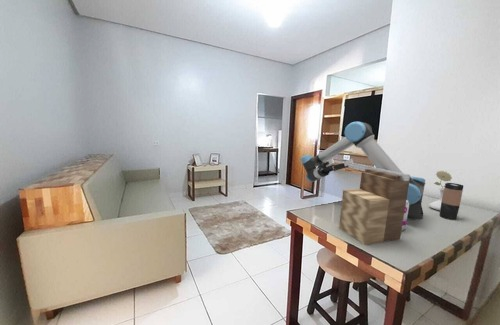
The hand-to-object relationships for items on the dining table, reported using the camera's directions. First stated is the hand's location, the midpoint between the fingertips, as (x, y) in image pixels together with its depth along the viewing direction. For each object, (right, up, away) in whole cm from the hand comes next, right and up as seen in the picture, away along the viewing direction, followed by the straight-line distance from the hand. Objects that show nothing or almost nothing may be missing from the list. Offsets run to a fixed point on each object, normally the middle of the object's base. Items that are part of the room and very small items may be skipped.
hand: (342, 160), depth 120 cm
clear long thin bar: (+6, -6, -21) cm, 22 cm away
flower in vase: (+68, -32, +13) cm, 76 cm away
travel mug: (+61, -33, 0) cm, 70 cm away
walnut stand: (+2, -35, -22) cm, 41 cm away
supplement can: (+20, -34, -16) cm, 43 cm away
